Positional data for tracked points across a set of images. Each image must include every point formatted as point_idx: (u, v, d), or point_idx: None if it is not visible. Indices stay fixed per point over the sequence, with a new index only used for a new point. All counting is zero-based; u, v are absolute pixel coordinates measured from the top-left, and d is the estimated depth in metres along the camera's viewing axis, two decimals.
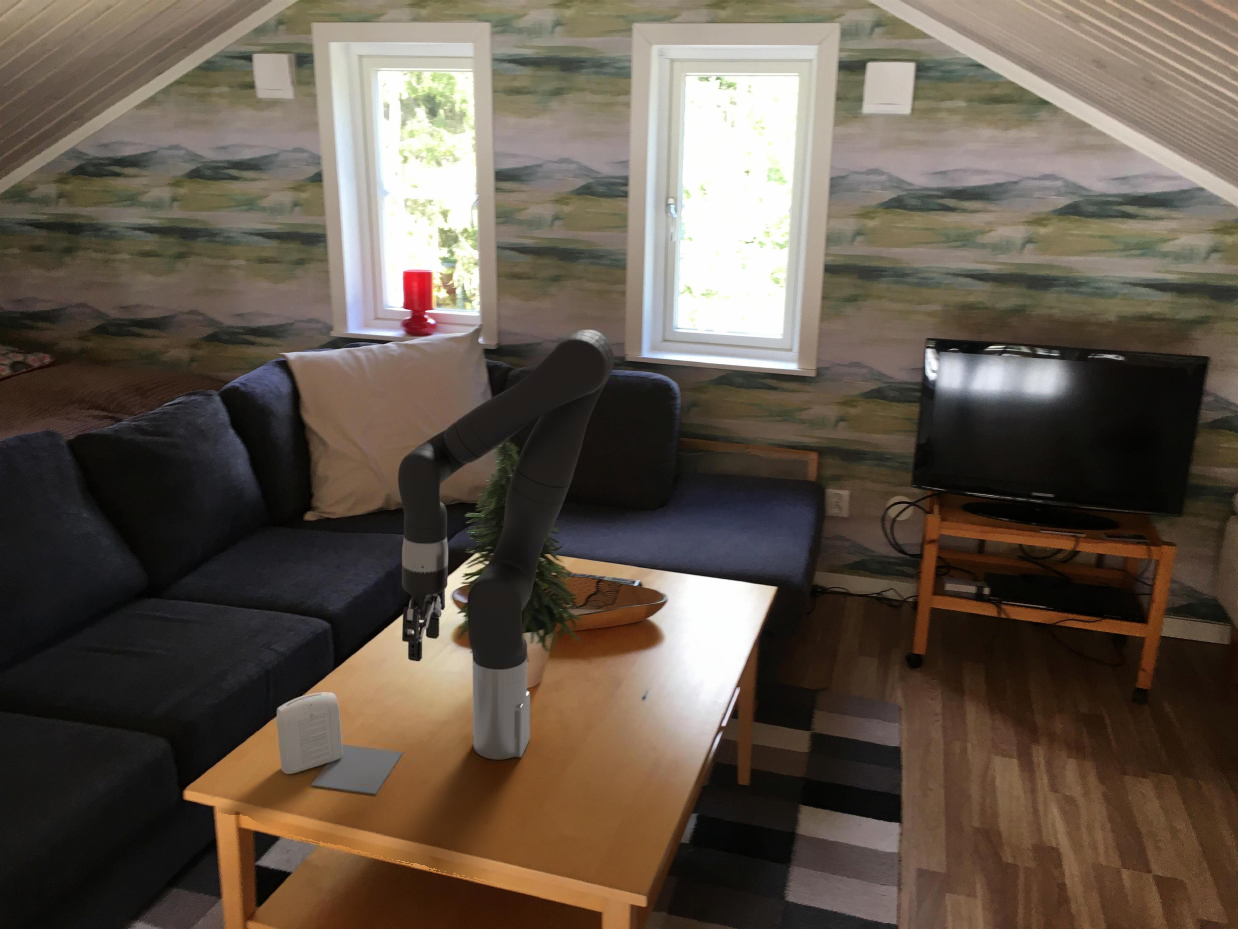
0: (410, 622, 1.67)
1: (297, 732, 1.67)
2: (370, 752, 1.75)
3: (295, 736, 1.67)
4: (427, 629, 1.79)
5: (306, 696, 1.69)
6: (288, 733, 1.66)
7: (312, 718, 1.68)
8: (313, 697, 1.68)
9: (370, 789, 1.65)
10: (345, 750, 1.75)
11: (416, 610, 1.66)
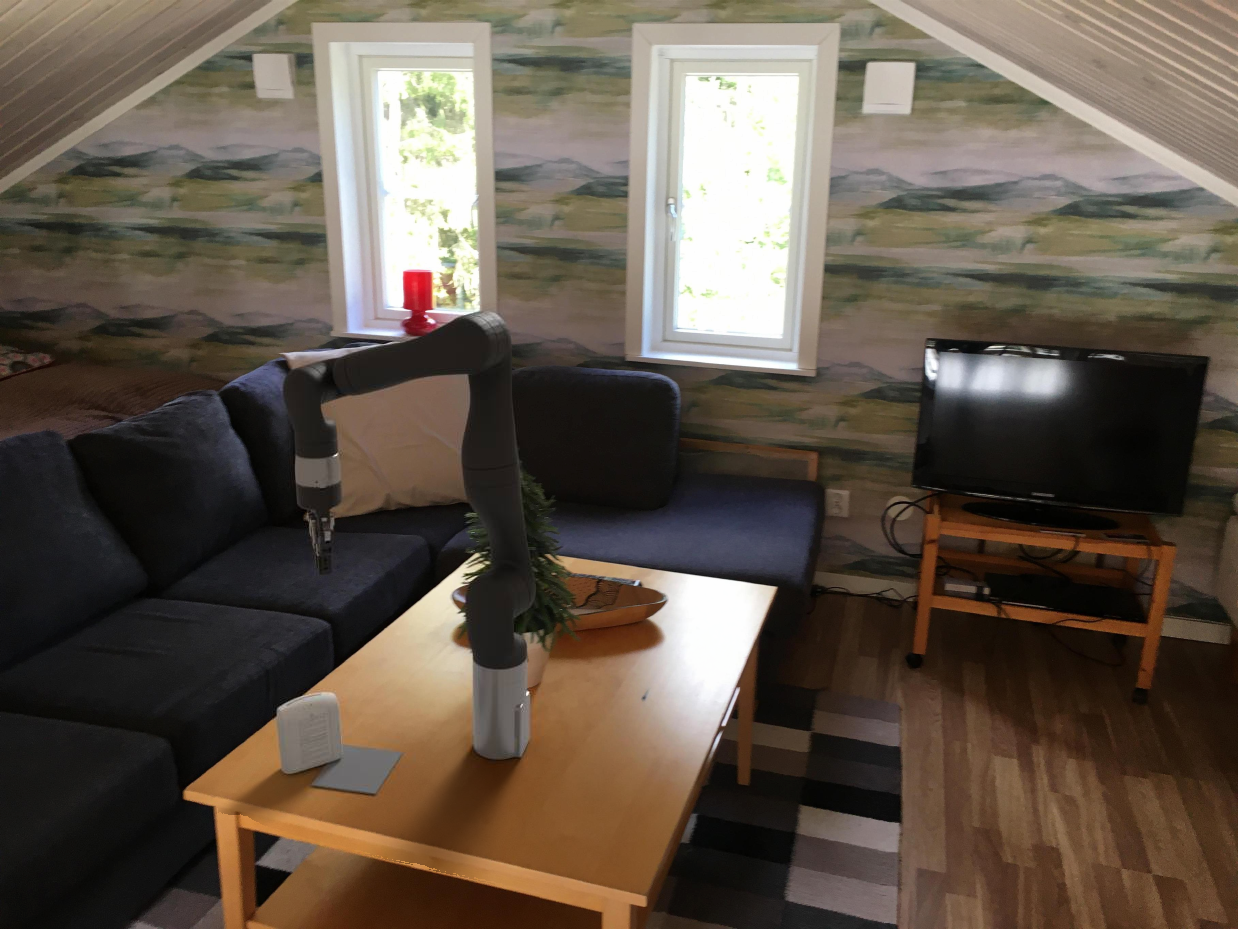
0: None
1: (297, 732, 1.67)
2: (370, 752, 1.75)
3: (295, 736, 1.67)
4: None
5: (306, 696, 1.69)
6: (288, 733, 1.66)
7: (312, 718, 1.68)
8: (313, 697, 1.68)
9: (370, 789, 1.65)
10: (345, 750, 1.75)
11: None
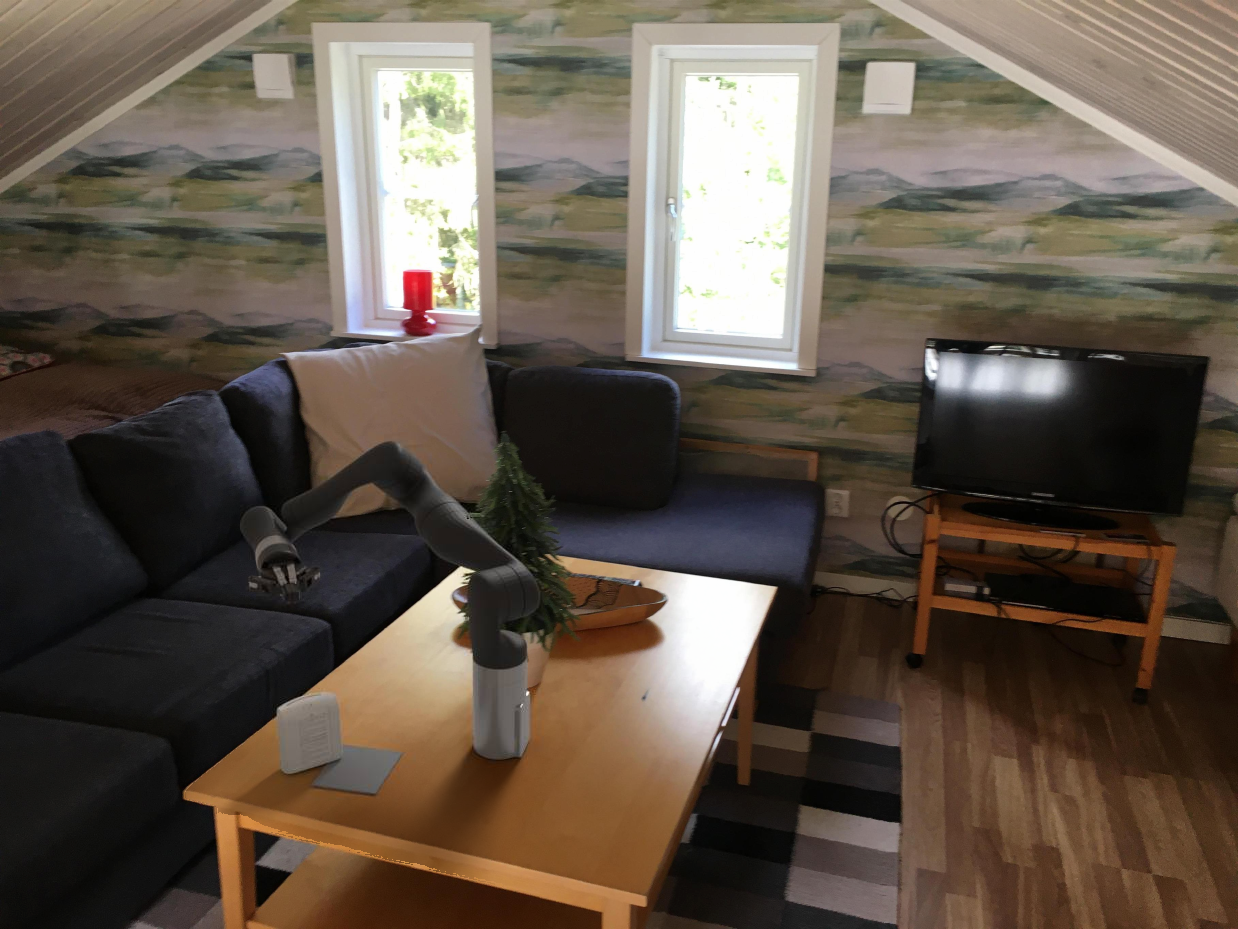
0: None
1: (297, 732, 1.67)
2: (370, 752, 1.75)
3: (295, 736, 1.67)
4: None
5: (306, 696, 1.69)
6: (288, 733, 1.66)
7: (312, 718, 1.68)
8: (313, 697, 1.68)
9: (370, 789, 1.65)
10: (345, 750, 1.75)
11: (249, 578, 1.83)
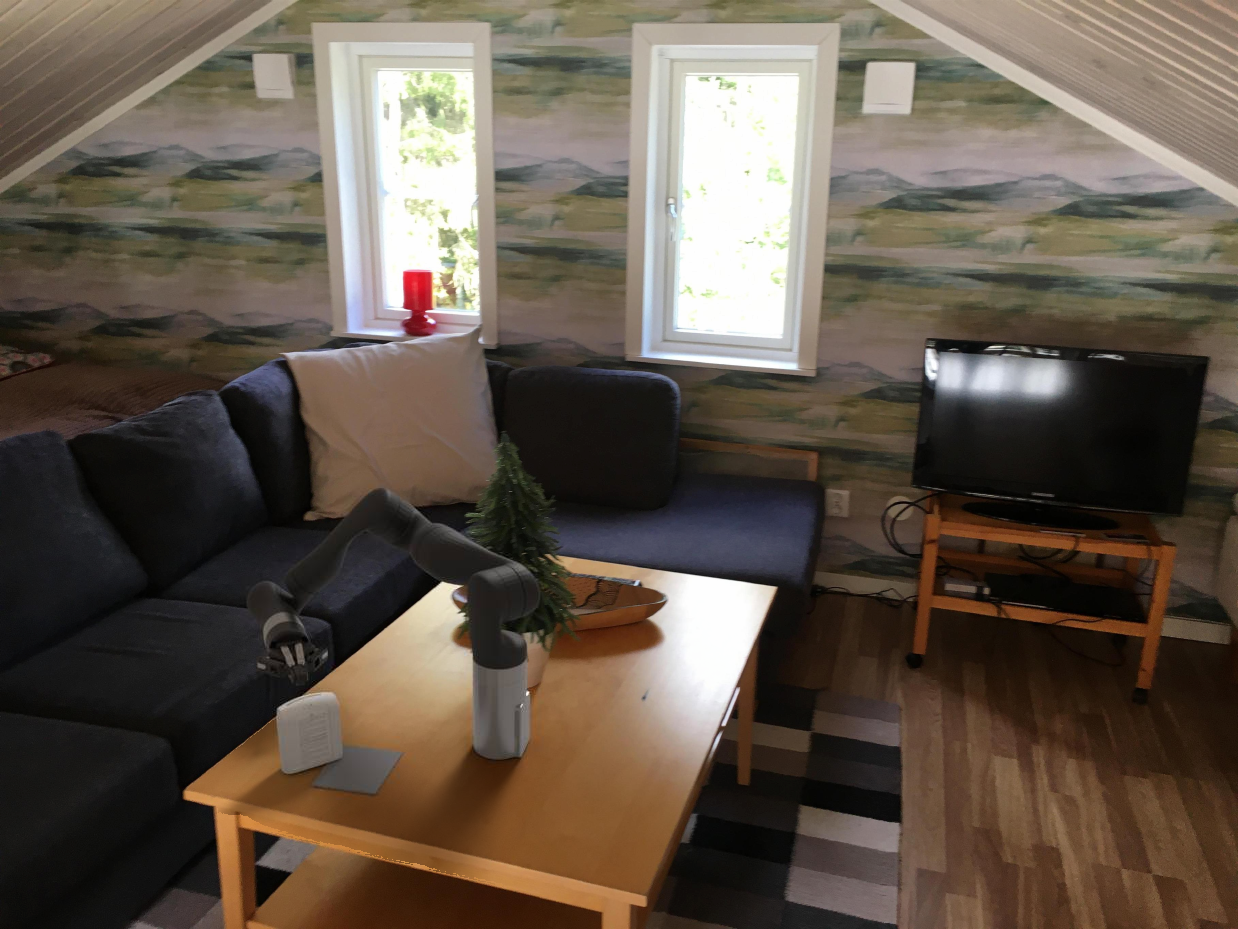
0: None
1: (297, 732, 1.67)
2: (370, 752, 1.75)
3: (295, 736, 1.67)
4: None
5: (306, 696, 1.69)
6: (288, 733, 1.66)
7: (312, 718, 1.68)
8: (313, 697, 1.68)
9: (370, 789, 1.65)
10: (345, 750, 1.75)
11: (257, 659, 1.84)
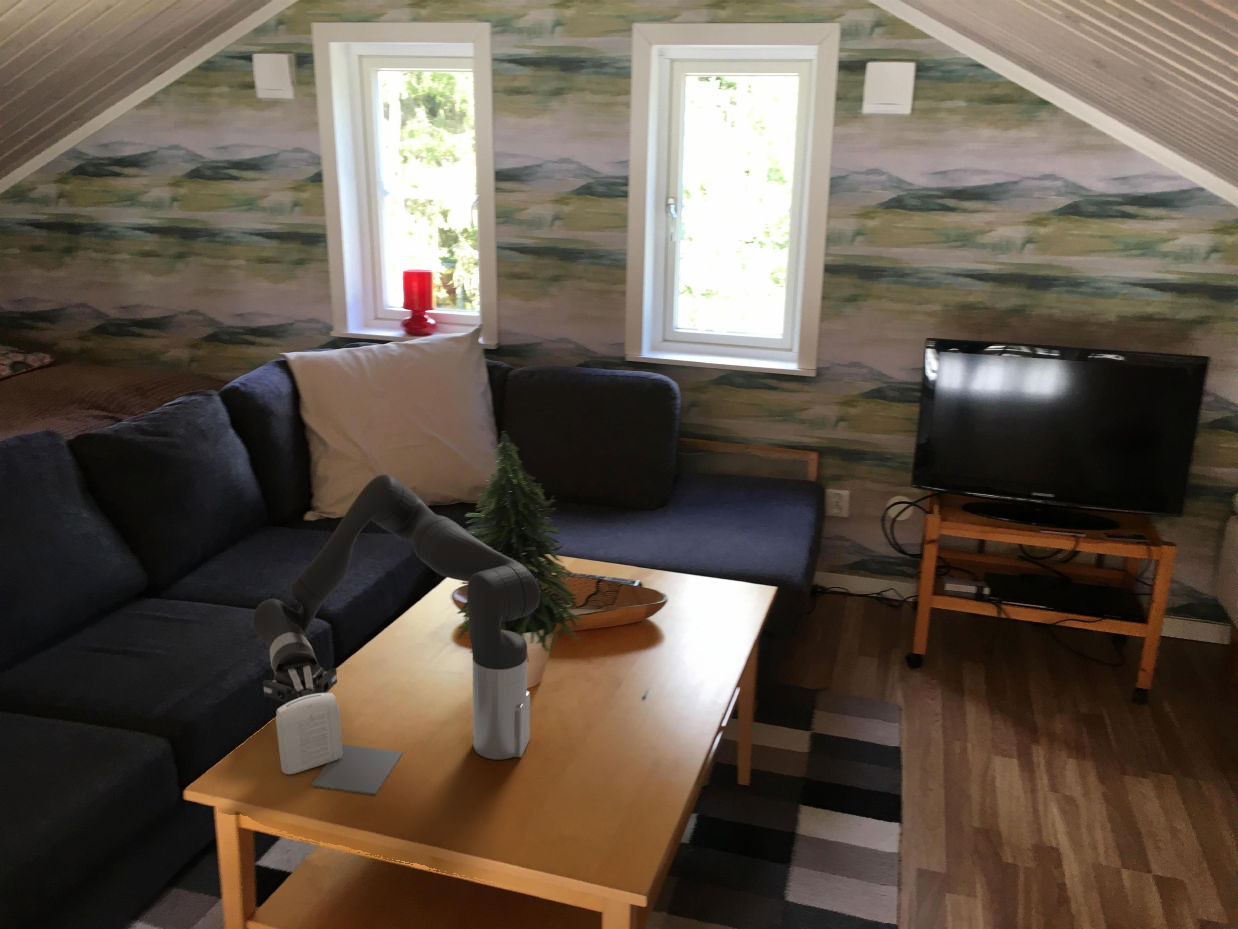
0: None
1: (297, 733, 1.67)
2: (370, 752, 1.75)
3: (295, 737, 1.67)
4: None
5: (306, 697, 1.68)
6: (288, 734, 1.66)
7: (312, 719, 1.67)
8: (313, 698, 1.68)
9: (370, 789, 1.65)
10: (345, 750, 1.75)
11: (263, 682, 1.76)
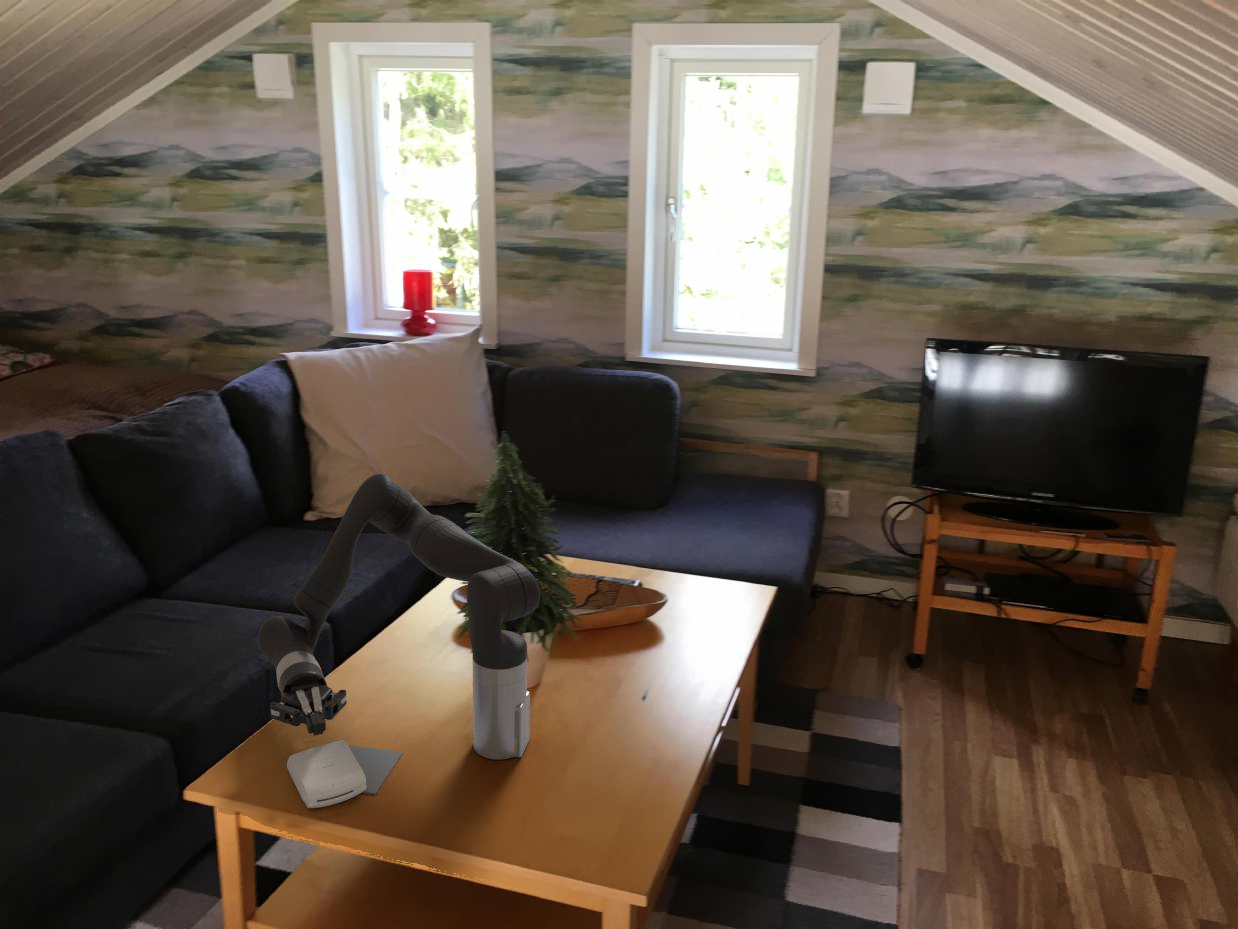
0: None
1: None
2: (370, 752, 1.75)
3: None
4: None
5: (339, 795, 1.60)
6: None
7: None
8: (345, 798, 1.61)
9: (370, 789, 1.65)
10: None
11: (270, 705, 1.69)
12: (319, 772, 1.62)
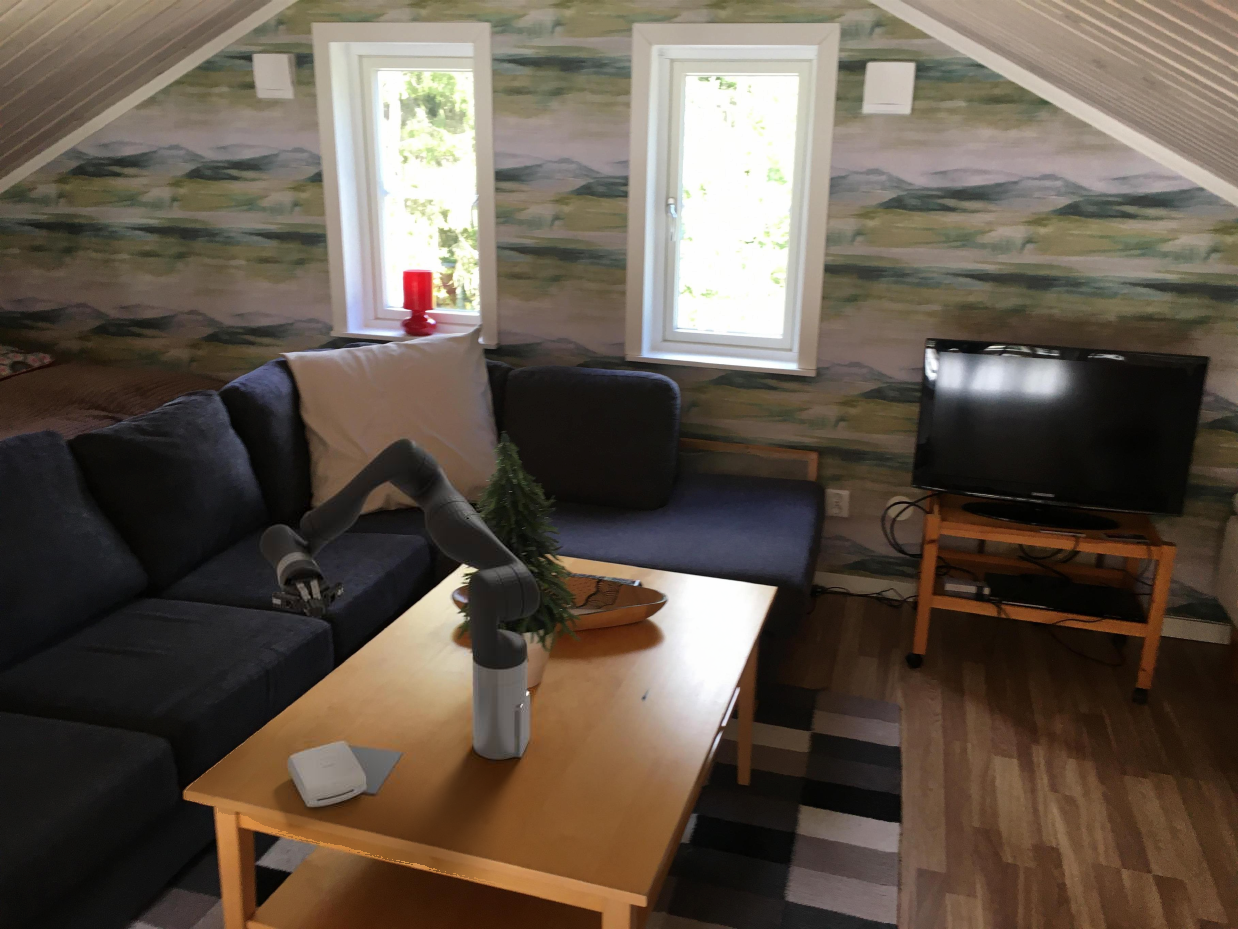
0: None
1: None
2: (370, 752, 1.75)
3: None
4: None
5: (339, 794, 1.60)
6: None
7: None
8: (345, 797, 1.61)
9: (370, 789, 1.65)
10: None
11: None
12: (320, 771, 1.62)
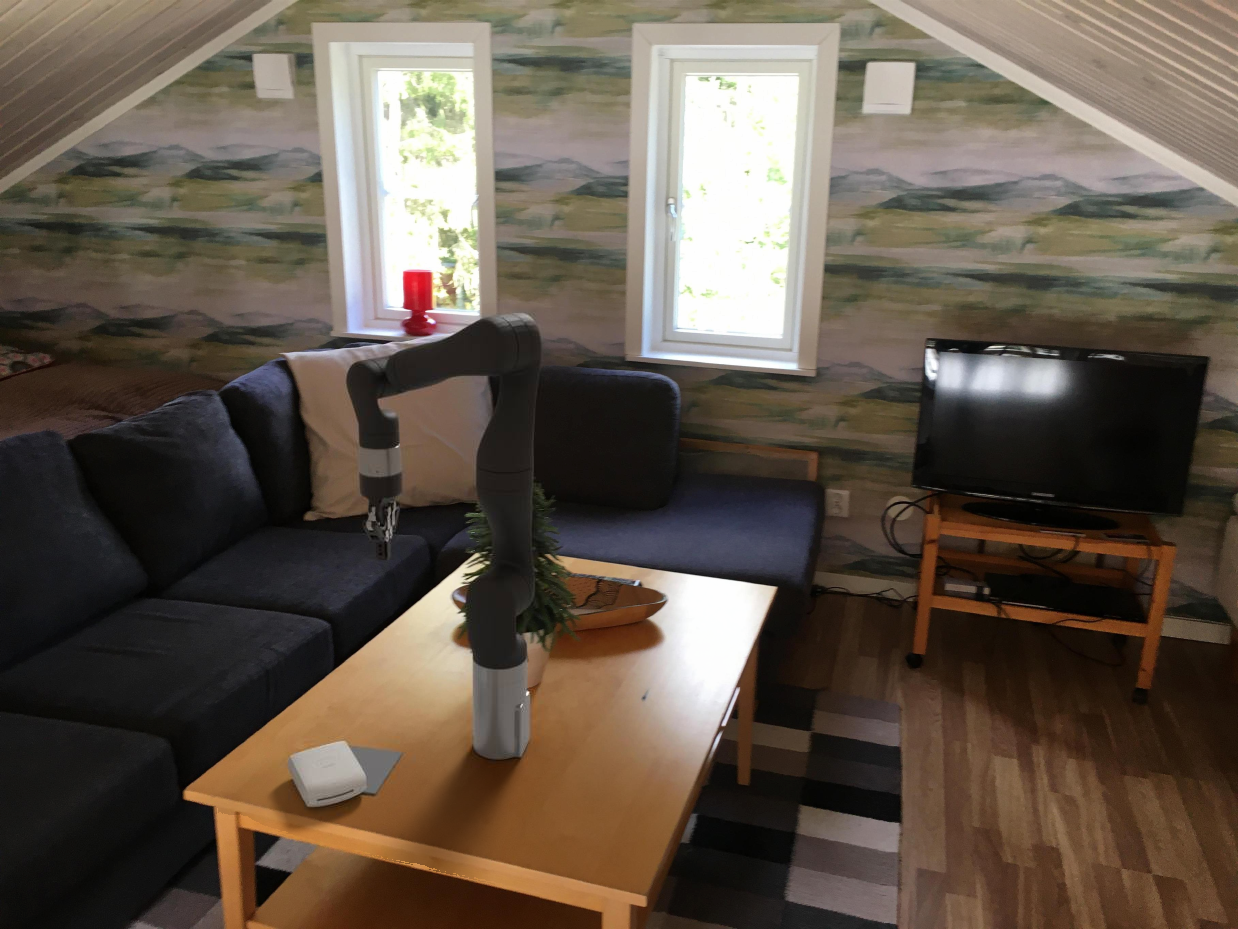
0: (372, 530, 1.82)
1: None
2: (370, 752, 1.75)
3: None
4: None
5: (339, 794, 1.60)
6: None
7: None
8: (345, 797, 1.61)
9: (370, 789, 1.65)
10: None
11: (374, 524, 1.80)
12: (320, 771, 1.62)
